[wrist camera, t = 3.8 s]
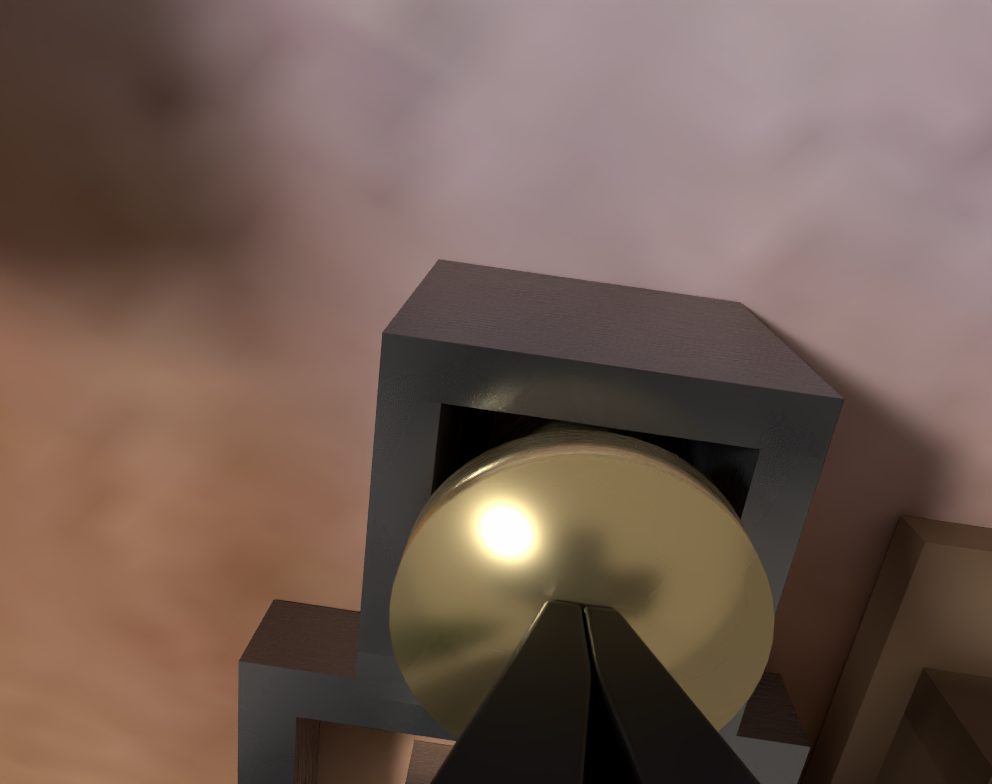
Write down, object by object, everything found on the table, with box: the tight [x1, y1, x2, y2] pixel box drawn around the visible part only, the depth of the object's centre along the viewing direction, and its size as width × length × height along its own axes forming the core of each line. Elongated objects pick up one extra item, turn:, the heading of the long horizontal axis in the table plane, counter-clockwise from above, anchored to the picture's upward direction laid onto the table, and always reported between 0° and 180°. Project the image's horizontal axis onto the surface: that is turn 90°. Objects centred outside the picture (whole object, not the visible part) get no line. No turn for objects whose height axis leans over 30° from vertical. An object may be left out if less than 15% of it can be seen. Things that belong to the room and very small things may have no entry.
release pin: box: [389, 411, 774, 739], centre depth 11 cm, size 4×4×6 cm
